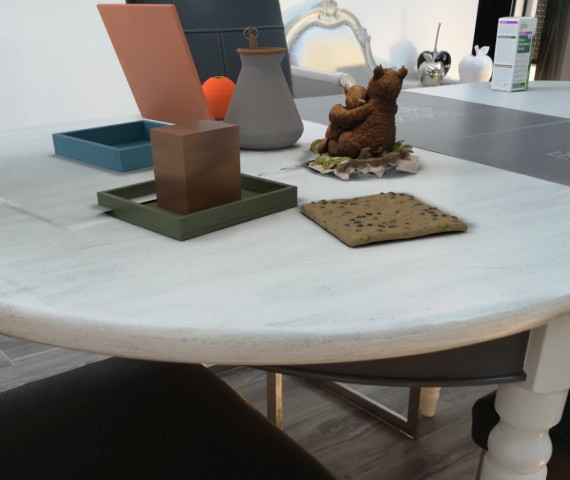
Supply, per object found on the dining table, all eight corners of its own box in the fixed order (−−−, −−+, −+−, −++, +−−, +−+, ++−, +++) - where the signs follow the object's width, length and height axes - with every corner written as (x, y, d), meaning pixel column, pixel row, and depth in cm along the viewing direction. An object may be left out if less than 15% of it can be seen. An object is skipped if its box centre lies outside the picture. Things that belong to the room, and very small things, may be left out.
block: (188, 216, 64) (182, 135, 60) (157, 206, 67) (149, 128, 63) (242, 201, 68) (239, 125, 64) (210, 192, 71) (205, 119, 68)
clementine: (204, 114, 120) (202, 72, 116) (243, 114, 119) (241, 72, 116) (197, 122, 113) (194, 77, 109) (238, 122, 112) (236, 77, 109)
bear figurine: (385, 150, 92) (392, 54, 86) (434, 175, 79) (445, 64, 73) (290, 156, 89) (290, 57, 83) (325, 183, 76) (328, 68, 70)
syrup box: (510, 92, 144) (521, 17, 137) (489, 89, 148) (498, 16, 141) (527, 90, 146) (539, 16, 140) (506, 87, 151) (516, 16, 144)
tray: (181, 241, 59) (179, 219, 58) (99, 211, 67) (96, 192, 66) (297, 205, 68) (297, 186, 67) (213, 183, 76) (212, 166, 75)
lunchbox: (122, 179, 79) (119, 150, 77) (55, 159, 88) (51, 133, 86) (216, 159, 88) (214, 133, 86) (146, 143, 97) (144, 119, 96)
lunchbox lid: (170, 6, 76) (174, 3, 76) (95, 5, 85) (99, 3, 85) (213, 131, 86) (216, 129, 86) (142, 118, 95) (145, 116, 96)
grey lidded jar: (310, 156, 89) (311, 32, 82) (224, 159, 88) (217, 33, 80) (288, 128, 107) (288, 24, 100) (217, 130, 106) (212, 25, 99)
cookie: (297, 210, 66) (297, 200, 66) (403, 197, 70) (404, 188, 70) (349, 247, 57) (350, 236, 56) (470, 230, 60) (471, 220, 60)
